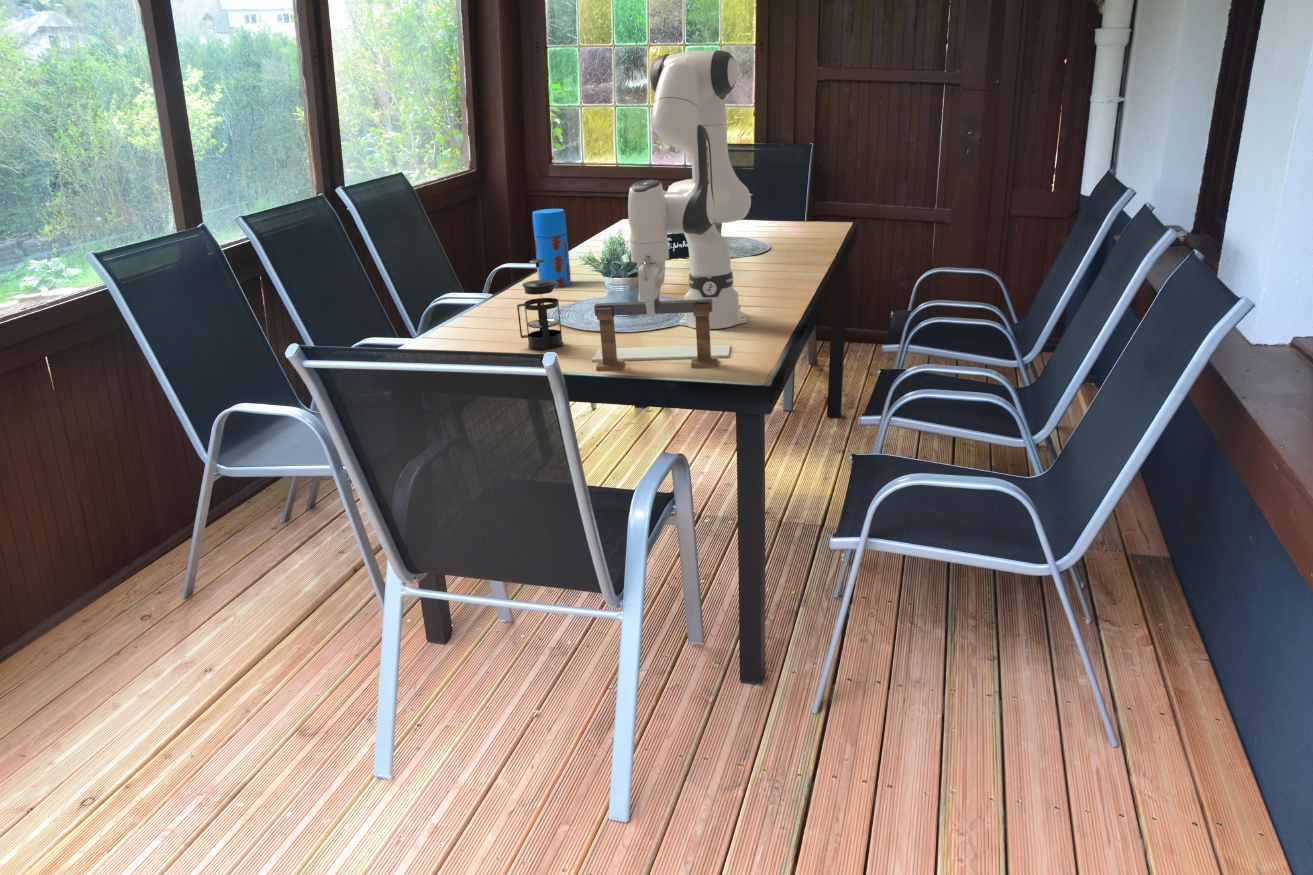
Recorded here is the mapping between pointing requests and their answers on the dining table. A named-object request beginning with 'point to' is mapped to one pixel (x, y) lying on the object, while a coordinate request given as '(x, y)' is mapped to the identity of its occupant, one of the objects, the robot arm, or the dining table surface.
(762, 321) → the dining table surface
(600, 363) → the stands
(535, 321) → the french press
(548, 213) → the thermos
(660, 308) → the rail
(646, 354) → the mat
